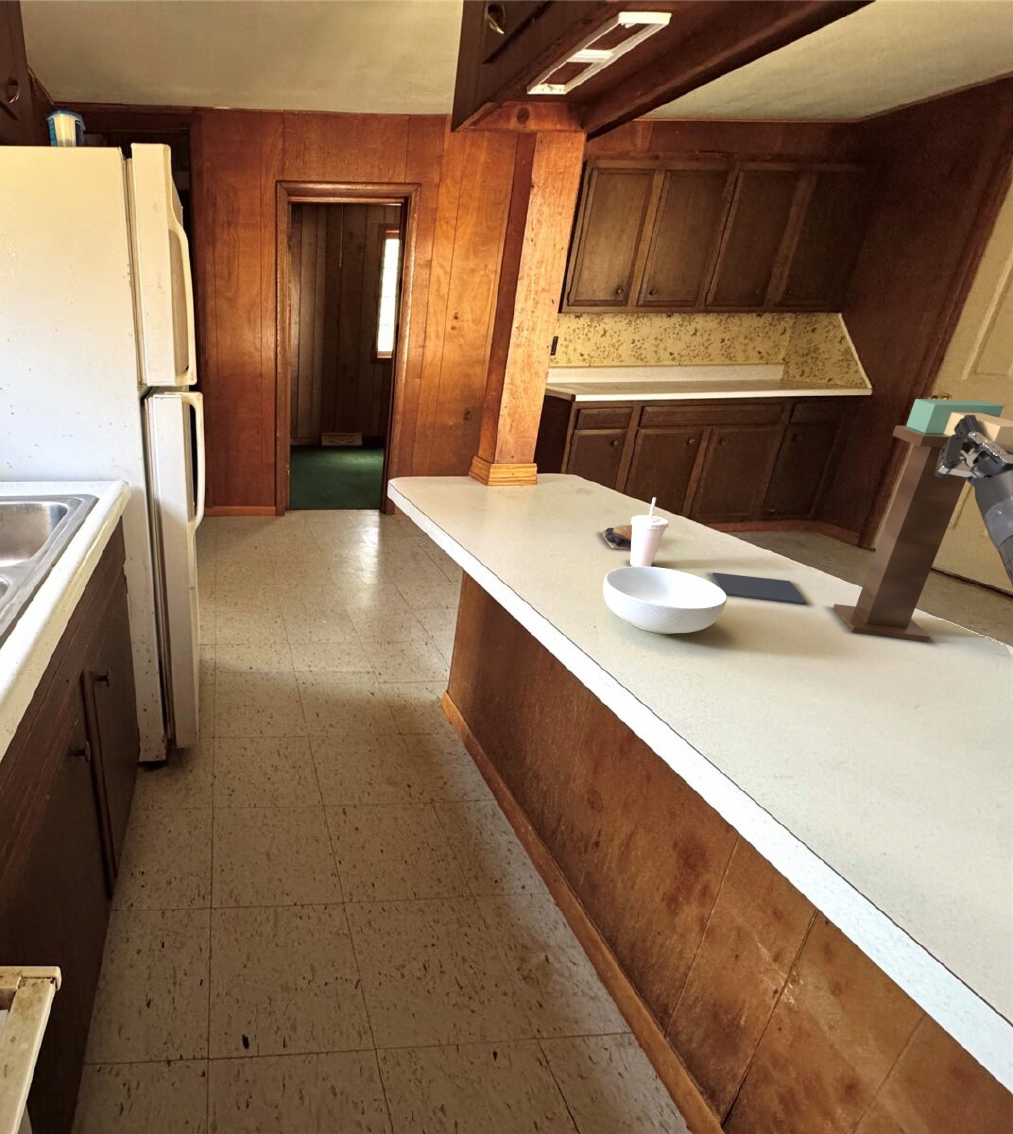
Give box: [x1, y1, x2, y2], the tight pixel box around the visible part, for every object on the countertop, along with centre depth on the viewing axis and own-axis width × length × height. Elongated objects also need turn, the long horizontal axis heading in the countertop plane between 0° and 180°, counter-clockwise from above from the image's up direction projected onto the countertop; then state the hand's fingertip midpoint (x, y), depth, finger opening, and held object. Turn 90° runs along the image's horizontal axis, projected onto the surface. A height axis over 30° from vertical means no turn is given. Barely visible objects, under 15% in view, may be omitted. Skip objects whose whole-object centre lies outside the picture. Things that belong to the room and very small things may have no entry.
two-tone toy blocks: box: [905, 398, 1013, 452], centre depth 84 cm, size 7×18×4 cm, turn 155°
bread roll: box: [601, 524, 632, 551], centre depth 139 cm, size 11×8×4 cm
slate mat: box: [711, 572, 807, 605], centre depth 114 cm, size 12×10×1 cm
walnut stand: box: [832, 425, 976, 643], centre depth 95 cm, size 9×9×31 cm
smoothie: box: [629, 497, 670, 567], centre depth 124 cm, size 6×6×14 cm
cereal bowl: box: [602, 565, 728, 635], centre depth 102 cm, size 17×17×7 cm
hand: (992, 421), depth 81 cm, fingers open, 4 cm apart
